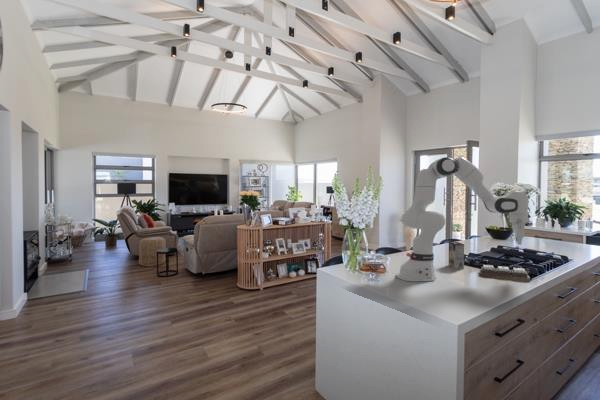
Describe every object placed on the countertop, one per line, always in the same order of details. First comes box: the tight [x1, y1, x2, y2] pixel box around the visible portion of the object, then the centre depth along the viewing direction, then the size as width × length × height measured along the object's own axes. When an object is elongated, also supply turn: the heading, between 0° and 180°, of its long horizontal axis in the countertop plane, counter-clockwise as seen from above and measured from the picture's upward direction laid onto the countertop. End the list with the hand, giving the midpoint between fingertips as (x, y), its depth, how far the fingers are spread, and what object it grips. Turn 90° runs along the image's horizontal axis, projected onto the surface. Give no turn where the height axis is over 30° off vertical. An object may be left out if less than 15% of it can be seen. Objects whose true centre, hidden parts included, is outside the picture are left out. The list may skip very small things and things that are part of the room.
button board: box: [479, 266, 531, 283], centre depth 178 cm, size 10×24×4 cm, turn 59°
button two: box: [512, 267, 526, 273], centre depth 174 cm, size 5×5×2 cm
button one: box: [497, 265, 509, 272], centre depth 178 cm, size 5×5×2 cm
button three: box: [482, 264, 495, 270], centre depth 182 cm, size 5×5×2 cm
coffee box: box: [448, 241, 465, 269], centre depth 202 cm, size 9×6×16 cm
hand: (518, 242), depth 174 cm, fingers open, 8 cm apart
